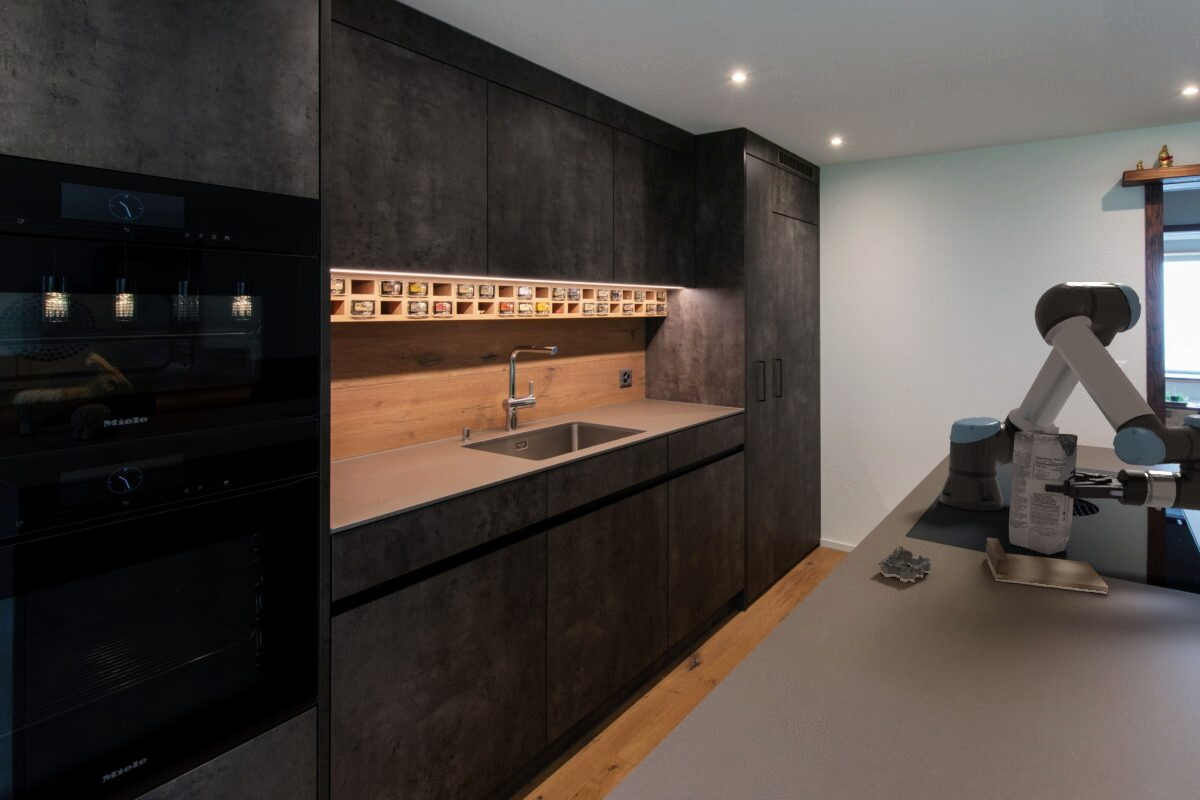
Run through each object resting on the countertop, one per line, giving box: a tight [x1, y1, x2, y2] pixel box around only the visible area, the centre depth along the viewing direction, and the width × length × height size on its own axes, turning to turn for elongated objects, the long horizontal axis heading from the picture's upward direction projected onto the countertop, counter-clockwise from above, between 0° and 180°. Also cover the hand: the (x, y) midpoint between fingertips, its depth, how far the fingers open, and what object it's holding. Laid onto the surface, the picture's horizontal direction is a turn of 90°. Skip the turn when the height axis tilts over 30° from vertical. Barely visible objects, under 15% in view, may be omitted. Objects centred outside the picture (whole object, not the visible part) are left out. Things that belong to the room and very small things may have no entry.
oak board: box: [985, 551, 1109, 593], centre depth 135 cm, size 18×14×2 cm
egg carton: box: [877, 545, 934, 579], centre depth 137 cm, size 11×8×4 cm
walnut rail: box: [985, 537, 1009, 575], centre depth 138 cm, size 2×14×3 cm, turn 158°
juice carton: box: [1008, 426, 1079, 556], centre depth 150 cm, size 9×10×27 cm
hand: (1021, 479), depth 152 cm, fingers closed on juice carton, 11 cm apart
